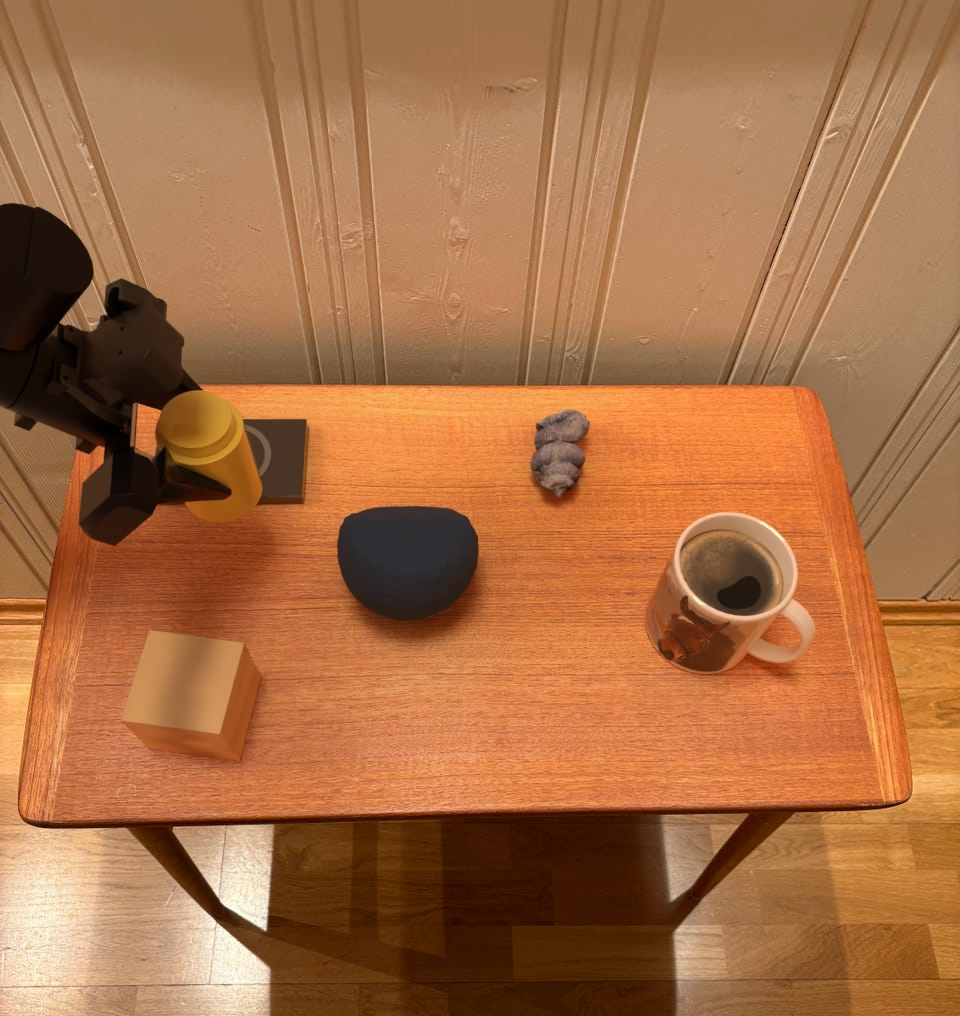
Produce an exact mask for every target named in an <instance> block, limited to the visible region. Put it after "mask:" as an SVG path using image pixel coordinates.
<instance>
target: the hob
mask: <svg viewBox="0 0 960 1016" xmlns="http://www.w3.org/2000/svg"><path fill="white" fill-rule="evenodd" d="M242 419H243V422H244V425H245V428H246V432H247V435H248V438H249V441H250V444H251V448H252V451H253V454H254V457H255V460H256V464H257V467H258V470H259V473H260V476H261V479H262V494H261V497H260V499H259V501H258V503H257V504H256V505H258V504H260V505H261V504H273V505H274V504H304V503H305V501H304V500H305V485H306V484H305V483H306V467H307V454H308V453H307V452H308V436H309V424H308V421H307V420H308V419H307V418H242ZM159 451H160V449H159V447H158V445H157V444H156V446H155V453H154V456H155V455H156V454H157V453H158V452H159ZM165 505H186V504H185V502H177V503H166V504H165Z"/></svg>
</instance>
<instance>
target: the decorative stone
mask: <svg viewBox="0 0 960 1016" xmlns="http://www.w3.org/2000/svg"><path fill="white" fill-rule="evenodd" d="M474 527H475V526H473V525H472V523H471V521H470V519H469V517H468V516H467V515H465V514H463V513H460V512H458V511H457V510H455V509H452V508H448V507H439V506H427V505H424V506H423V505H401V506H399V505H397V506H396V505H394V506H392V505H389V506H375V507H371V508H366V509H363V510H360V511H359V512H352V513H350V514H348V515H346V516H345V517H344V518H343V521H342V524H341V525H339V529H338V536H337V541H336V542H337V543H336V548H337V562H338V563H337V564H338V567H339V571H340V575H341V577H342V579H343V582H344V584H345V585H346V587H347V590H348V591H349V592H350V593H351V595H352V596H353V597H354V599H356V601H357V602H358V603H360V605H362V606H363V607H364V608H366V609H367V610H369V611H371V612H372V613H374V614H376V615H378V616H380V617H383V618H385V619H388V620H393V621H396V622H404V623H406V622H416V621H422V620H425V619H428V618H430V617H433V616H436V615H437V614H438V615H439V614H440V613H442V612H444V611H446V610H448V609H449V608H450V607H451V606H453V605H454V604H455V603H456V602H457V601H458V600H460V599H461V597H463V594H464V593H465V592H466V591H467V589H468V588H469V587H470V586H471V583H472V581H473V578H474V577H475V574H476V572H477V569H478V561H479V554H480V553H479V551H480V549H479V536H478V534H477V532H476V529H475V528H474Z"/></svg>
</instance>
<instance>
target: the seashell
mask: <svg viewBox="0 0 960 1016" xmlns="http://www.w3.org/2000/svg"><path fill="white" fill-rule="evenodd" d="M590 426H591V421H590V420H588V419H587V415H586V414H584V413H582V412H580V411H579V410H576V409H572V408H569V409H568V408H567V409H563V410H562V411H559V412H557V413H552V414H550V415H548V416H545V417H544V418H542V419H541V420H540V421H537V422H536V423H535V430H536V431H537V432H536V433H535V434H534V441H533V443H534V446H535V450H536V451H535V452H534V453H533V454H532V456H531V460H530V469H531V471H532V474H533V475H534V478H535V480H536V482H537V483H538V484H539V485H540V487H542V488H543V489H545V490H546V491H547V492H548V493H551V494H554V495H555V496H556V497H557V498H561V497H562V496H563V495H564V494H566V493H569V492H570V491H572V490H573V489H574V488H575V487H576V485H577V484H578V483H579V481H580V477H581V471H580V469H582V467H583V466H584V464H585V463H586V452H584V450H583V449H582V447H581V446H579V445H577V444H576V443H579V442H581V441H583V440H584V439H585V437H586V436H587V435H588V433H589V429H590Z"/></svg>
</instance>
